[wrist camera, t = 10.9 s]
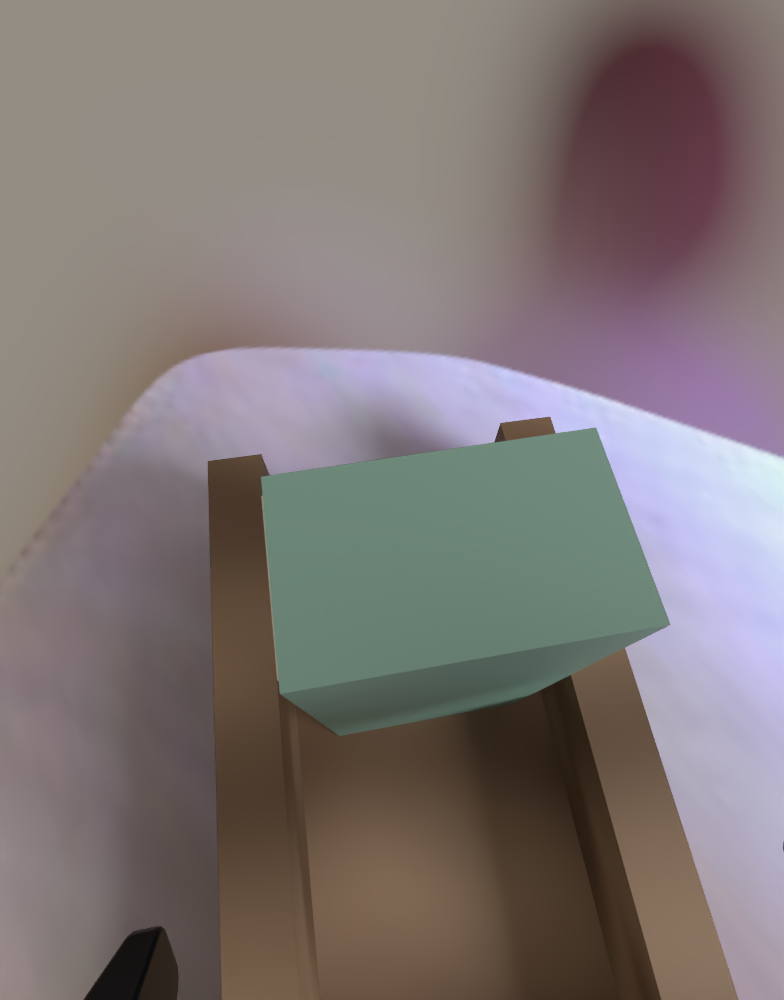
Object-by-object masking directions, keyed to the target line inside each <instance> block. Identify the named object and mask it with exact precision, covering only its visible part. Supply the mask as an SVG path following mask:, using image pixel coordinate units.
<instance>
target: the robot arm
mask: <svg viewBox="0 0 784 1000" xmlns="http://www.w3.org/2000/svg"><path fill="white" fill-rule="evenodd" d="M783 850H784V843H783ZM177 991H178V967H177V963H176V960H175V957H174V954H173V951H172V948H171V945H170V942H169V939H168V937H167V934H166V931H165V929H164V928H162V927H161V926H157V927H151V928H146V929H141V930H136V931H134V932H132V933H131V934H130V935H129V936H128V937H127V938H126V939H125V940H124V942H123V943H122V945H121V946H120V948H119V949H118V950H117V952H116V953H115V955H114V956H113V958H112V959H111V961H110V962H109V964H108V965H107V966H106V968H105V969H104V971H103V972H102V974H101V975H100V977H99V978H98V979H97V981H96V982H95V984H94V985H93V987H92V988H91V990H90V991H89V992H88V994H87V995H86V997H85V998H84V1000H177Z"/></svg>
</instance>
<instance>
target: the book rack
mask: <svg viewBox="0 0 784 1000" xmlns="http://www.w3.org/2000/svg"><path fill="white" fill-rule="evenodd" d="M549 434H556V433H555V430H554V427H553V424H552V421H551V418H550V417H544V418H536V419H529V420H521V421H513V422H506V423H501V424H500V427H499V430H498V433H497V436H496V439H495V442H502V441H508V440H515V439H522V438H529V437H536V436H542V435H549ZM495 442H494V443H495ZM263 476H270V475H269V473H268V470H267V468H266V465H265V463H264V460H263V458H262V455H261V454H260V455H252V456H244V457H237V458H229V459H221V460H213V461H208V489H209V528H210V566H211V605H212V643H213V682H214V721H215V759H216V798H217V837H218V875H219V914H220V952H221V991H222V1000H738V997H737V994H736V991H735V988H734V984H733V981H732V978H731V975H730V972H729V969H728V966H727V963H726V960H725V957H724V953H723V950H722V947H721V944H720V941H719V938H718V935H717V932H716V929H715V926H714V923H713V919H712V916H711V913H710V910H709V907H708V904H707V901H706V898H705V895H704V892H703V888H702V885H701V882H700V879H699V876H698V873H697V870H696V867H695V864H694V861H693V858H692V854H691V851H690V848H689V845H688V842H687V839H686V836H685V833H684V830H683V827H682V823H681V820H680V817H679V814H678V811H677V808H676V805H675V802H674V799H673V796H672V792H671V789H670V786H669V783H668V780H667V777H666V774H665V771H664V768H663V765H662V762H661V758H660V755H659V752H658V749H657V746H656V743H655V740H654V737H653V734H652V731H651V727H650V724H649V721H648V718H647V715H646V712H645V709H644V706H643V703H642V700H641V697H640V693H639V690H638V687H637V684H636V681H635V678H634V675H633V672H632V669H631V666H630V662H629V659H628V656H627V653H626V650H625V648H623V649H621V650H619V651H617V652H615V653H613V654H611V655H609V656H607V657H605V658H603V659H601V660H599V661H597V662H595V663H593V664H591V665H589V666H587V667H585V668H583V669H581V670H579V671H577V672H575V673H573V674H571V675H569V676H567V677H565V678H563V679H561V680H559V681H557V682H555V683H553V684H551V685H550V686H548V687H546V688H544V689H542V690H540V691H538V692H536V693H534V694H532V695H530V696H528V697H526V698H524V699H522V700H520V701H518V702H516V703H514V704H509V705H504V706H499V707H493V708H488V709H482V710H477V711H472V712H466V713H461V714H455V715H450V716H445V717H439V718H434V719H428V720H423V721H418V722H412V723H407V724H401V725H396V726H391V727H385V728H380V729H374V730H369V731H364V732H358V733H353V734H348V735H342V736H339V735H337V734H336V733H335V732H333V731H332V730H330V729H329V728H327V727H326V726H325V725H323V724H322V723H320V722H319V721H318V720H316V719H315V718H313V717H312V716H310V715H309V714H308V713H306V712H305V711H303V710H302V709H300V708H299V707H298V706H296V705H295V704H293V703H292V702H291V701H289V700H288V699H286V698H285V697H283V696H282V695H281V694H280V689H279V681H278V680H277V673H276V661H275V650H274V638H273V626H272V615H271V603H270V591H269V580H268V568H267V557H266V545H265V533H264V522H263V510H262V499H261V496H263V494H262V483H261V477H263Z"/></svg>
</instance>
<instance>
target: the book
mask: <svg viewBox="0 0 784 1000" xmlns="http://www.w3.org/2000/svg"><path fill="white" fill-rule="evenodd" d="M261 483H262V494H263V496H261V499H262V510H263V522H264V533H265V545H266V557H267V568H268V580H269V591H270V603H271V615H272V626H273V638H274V650H275V661H276V673H277V680H278V681H279V689H280V694H281V695H282V696H283V697H285V698H286V699H288V700H289V701H291V702H292V703H293V704H295V705H296V706H298V707H299V708H300V709H302V710H303V711H305V712H306V713H308V714H309V715H310V716H312V717H313V718H315V719H316V720H318V721H319V722H320V723H322V724H323V725H325V726H326V727H327V728H329V729H330V730H332V731H333V732H335V733H336V734H337V735H339V736H342V735H348V734H353V733H358V732H364V731H369V730H374V729H380V728H385V727H391V726H396V725H401V724H407V723H412V722H418V721H423V720H428V719H434V718H439V717H445V716H450V715H455V714H461V713H466V712H472V711H477V710H482V709H488V708H493V707H499V706H504V705H509V704H514V703H516V702H518V701H520V700H522V699H524V698H526V697H528V696H530V695H532V694H534V693H536V692H538V691H540V690H542V689H544V688H546V687H548V686H550V685H551V684H553V683H555V682H557V681H559V680H561V679H563V678H565V677H567V676H569V675H571V674H573V673H575V672H577V671H579V670H581V669H583V668H585V667H587V666H589V665H591V664H593V663H595V662H597V661H599V660H601V659H603V658H605V657H607V656H609V655H611V654H613V653H615V652H617V651H619V650H621V649H623V648H625V647H627V646H629V645H631V644H633V643H635V642H637V641H639V640H641V639H643V638H645V637H647V636H649V635H651V634H653V633H655V632H657V631H659V630H661V629H663V628H665V627H667V626H669V625H670V622H669V620H668V617H667V614H666V612H665V609H664V607H663V604H662V601H661V599H660V596H659V593H658V591H657V588H656V585H655V583H654V580H653V577H652V575H651V572H650V569H649V567H648V564H647V561H646V559H645V556H644V554H643V551H642V548H641V546H640V543H639V540H638V538H637V535H636V532H635V530H634V527H633V524H632V522H631V519H630V516H629V514H628V511H627V509H626V506H625V503H624V501H623V498H622V495H621V493H620V490H619V487H618V485H617V482H616V479H615V477H614V474H613V471H612V469H611V466H610V464H609V461H608V458H607V456H606V453H605V450H604V448H603V445H602V442H601V440H600V437H599V434H598V432H597V429H596V428H590V429H583V430H577V431H570V432H563V433H556V434H549V435H542V436H536V437H529V438H522V439H515V440H508V441H502V442H495V443H488V444H481V445H474V446H468V447H461V448H454V449H447V450H440V451H433V452H427V453H420V454H413V455H406V456H399V457H393V458H386V459H379V460H372V461H365V462H358V463H352V464H345V465H338V466H331V467H324V468H318V469H311V470H304V471H297V472H290V473H283V474H277V475H270V476H263V477H261Z"/></svg>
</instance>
